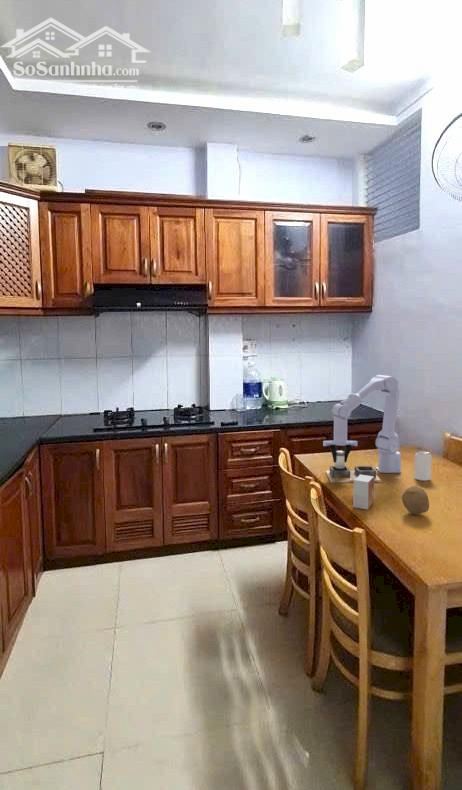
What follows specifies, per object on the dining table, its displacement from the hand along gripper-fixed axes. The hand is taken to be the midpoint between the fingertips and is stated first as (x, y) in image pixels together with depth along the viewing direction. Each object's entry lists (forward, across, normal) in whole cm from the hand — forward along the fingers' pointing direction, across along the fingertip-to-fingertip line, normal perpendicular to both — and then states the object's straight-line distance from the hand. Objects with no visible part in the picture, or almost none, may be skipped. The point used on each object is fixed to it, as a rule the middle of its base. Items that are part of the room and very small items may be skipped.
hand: (339, 461), depth 207 cm
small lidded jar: (+2, 0, 0) cm, 2 cm away
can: (+7, +35, -2) cm, 36 cm away
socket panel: (+7, +6, 0) cm, 9 cm away
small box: (+7, +3, -33) cm, 34 cm away
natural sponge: (+7, +19, -41) cm, 46 cm away
